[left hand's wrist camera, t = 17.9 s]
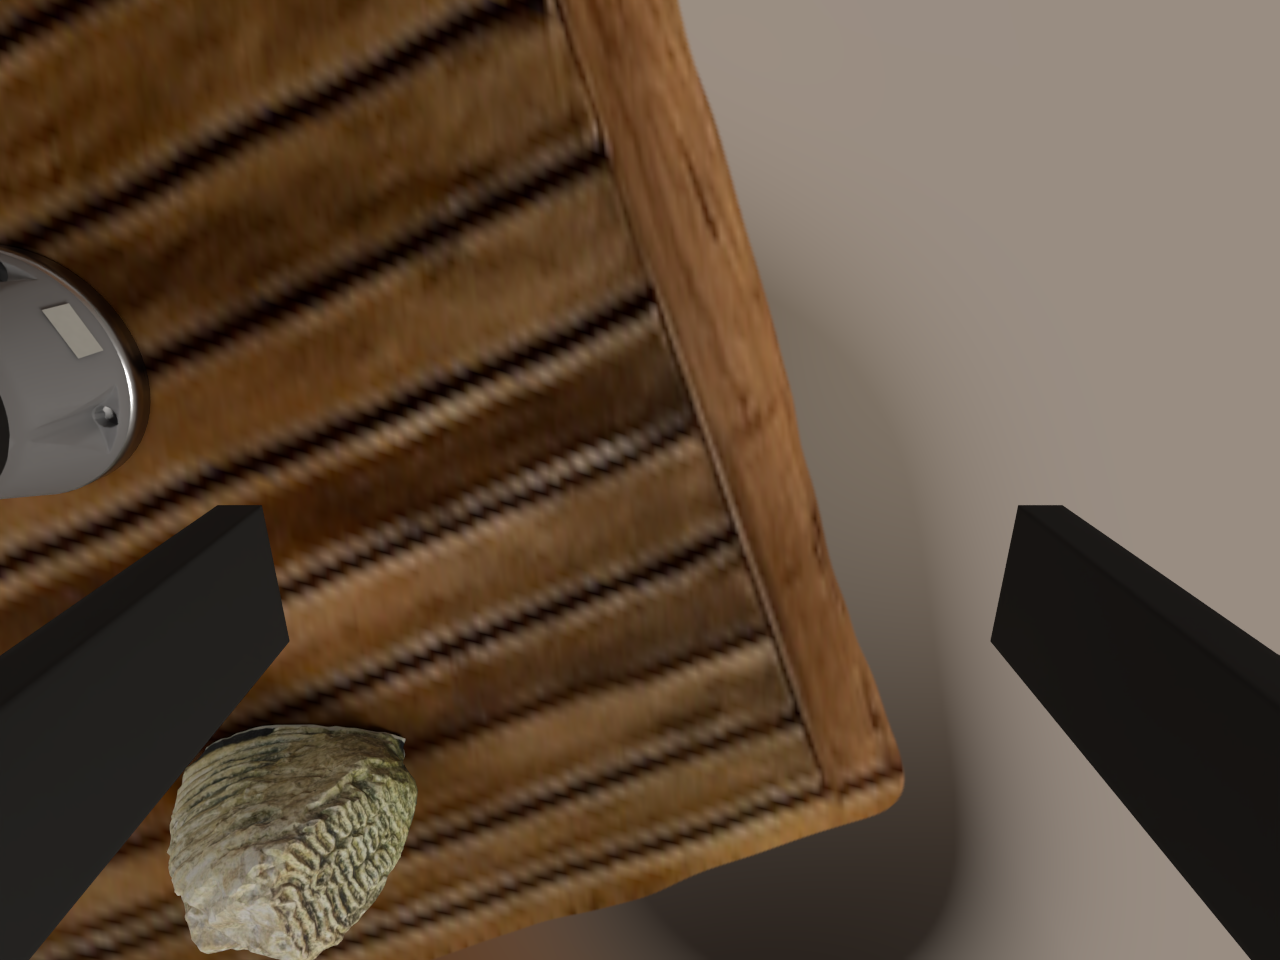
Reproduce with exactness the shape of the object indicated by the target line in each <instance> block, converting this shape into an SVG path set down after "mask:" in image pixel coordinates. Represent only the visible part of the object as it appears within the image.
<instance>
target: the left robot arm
mask: <svg viewBox="0 0 1280 960" xmlns="http://www.w3.org/2000/svg"><path fill="white" fill-rule="evenodd" d="M149 412H150V388H149V381H148V376H147V372H146V368H145V364H144V362H143V359H142V356H141V353H140V351H139V349H138V346H137V344H136V342H135V340H134V338H133V337H132V335H131V333H130V331H129V330H128V328H127V327H126V325H125V324H124V322H123V321H122V319H121V318H120V317H119V315H118V314H117V313H116V311H115V310H114V309H113V308H112V307H111V305H110V304H109V303H108V302H107V301H106V300H105V299H104V298H103V297H102V296H101V295H100V294H99V293H98V292H97V291H96V290H95V289H94V288H93V287H91V286H90V285H89V284H88V283H86V282H85V281H84V280H83V279H81V278H80V277H79V276H77V275H76V274H74V273H73V272H71V271H70V270H68V269H66V268H65V267H63V266H61V265H60V264H58V263H56V262H54V261H52V260H50V259H48V258H46V257H43V256H41V255H38V254H36V253H33V252H30V251H27V250H23V249H20V248H15V247H10V246H5V245H0V499H6V498H17V497H28V496H39V495H51V494H59V493H64V492H68V491H72V490H75V489H78V488H80V487H83V486H85V485H87V484H89V483H91V482H93V481H95V480H97V479H99V478H101V477H103V476H106V475H107V474H109V473H111V472H112V471H114V470H116V469H117V468H118V467H120V466H121V465H122V464H123V463H124V462H125V461H126V460H127V459H128V458H130V456H131V455H132V454H133V452H134V451H135V450H136V448H137V447H138V445H139V443H140V442H141V440H142V437H143V435H144V433H145V430H146V426H147V423H148V418H149ZM288 642H289V636H288V631H287V626H286V621H285V617H284V612H283V607H282V602H281V597H280V592H279V587H278V582H277V578H276V573H275V568H274V563H273V558H272V553H271V548H270V543H269V538H268V534H267V529H266V524H265V519H264V514H263V509H262V505H217V506H216V507H214V508H213V509H212V510H210V511H209V512H207V513H206V514H204V515H203V516H201V517H200V518H199V519H197V520H196V521H194V522H193V523H191V524H190V525H188V526H187V527H186V528H184V529H183V530H181V531H180V532H178V533H177V534H175V535H174V536H173V537H171V538H170V539H168V540H167V541H165V542H164V543H162V544H161V545H160V546H158V547H157V548H155V549H154V550H152V551H151V552H149V553H148V554H147V555H145V556H144V557H142V558H141V559H139V560H138V561H136V562H135V563H134V564H132V565H131V566H129V567H128V568H126V569H125V570H123V571H122V572H121V573H119V574H118V575H116V576H115V577H113V578H112V579H111V580H109V581H108V582H106V583H105V584H103V585H102V586H100V587H99V588H98V589H96V590H95V591H93V592H92V593H90V594H89V595H87V596H86V597H85V598H83V599H82V600H80V601H79V602H77V603H76V604H74V605H73V606H72V607H70V608H69V609H67V610H66V611H64V612H63V613H61V614H60V615H59V616H57V617H56V618H54V619H53V620H51V621H50V622H48V623H47V624H46V625H44V626H43V627H41V628H40V629H38V630H37V631H35V632H34V633H33V634H31V635H30V636H28V637H27V638H25V639H24V640H22V641H21V642H20V643H18V644H17V645H15V646H14V647H12V648H11V649H9V650H8V651H7V652H5V653H4V654H2V655H1V656H0V960H29V959H30V958H31V957H32V955H33V954H34V953H35V952H36V951H37V949H38V948H39V947H40V946H41V944H42V943H43V942H44V941H45V940H46V938H47V937H48V936H49V935H50V933H51V932H52V931H53V930H54V929H55V927H56V926H57V925H58V924H59V922H60V921H61V920H62V919H63V918H64V916H65V915H66V914H67V913H68V911H69V910H70V909H71V908H72V907H73V905H74V904H75V903H76V902H77V900H78V899H79V898H80V897H81V896H82V894H83V893H84V892H85V891H86V889H87V888H88V887H89V886H90V885H91V883H92V882H93V881H94V880H95V878H96V877H97V876H98V875H99V874H100V872H101V871H102V870H103V869H104V867H105V866H106V865H107V864H108V863H109V861H110V860H111V859H112V858H113V856H114V855H115V854H116V853H117V852H118V850H119V849H120V848H121V847H122V845H123V844H124V843H125V842H126V841H127V839H128V838H129V837H130V836H131V834H132V833H133V832H134V831H135V830H136V828H137V827H138V826H139V825H140V823H141V822H142V821H143V820H144V819H145V817H146V816H147V815H148V814H149V812H150V811H151V810H152V809H153V808H154V806H155V805H156V804H157V803H158V801H159V800H160V799H161V798H162V797H163V795H164V794H165V793H166V792H167V790H168V789H169V788H170V787H171V786H172V784H173V783H174V782H175V781H176V779H177V778H178V777H179V776H180V775H181V773H182V772H183V771H184V770H185V768H186V767H187V766H188V765H189V764H190V762H191V761H192V760H193V759H194V757H195V756H196V755H197V754H198V753H199V751H200V750H201V749H202V748H203V746H204V745H205V744H206V743H207V742H208V740H209V739H210V738H211V737H212V735H213V734H214V733H215V732H216V731H217V729H218V728H219V727H220V726H221V724H222V723H223V722H224V721H225V719H226V718H227V717H228V716H229V715H230V713H231V712H232V711H233V710H234V708H235V707H236V706H237V705H238V704H239V702H240V701H241V700H242V699H243V697H244V696H245V695H246V694H247V693H248V691H249V690H250V689H251V688H252V686H253V685H254V684H255V683H256V682H257V680H258V679H259V678H260V677H261V675H262V674H263V673H264V672H265V671H266V669H267V668H268V667H269V666H270V664H271V663H272V662H273V661H274V660H275V658H276V657H277V656H278V655H279V653H280V652H281V651H282V650H283V649H284V647H285V646H286V645H287V644H288ZM991 642H992V644H993V645H994V646H995V647H996V649H997V650H998V651H999V652H1000V653H1001V655H1002V656H1003V657H1004V658H1005V660H1006V661H1007V662H1008V663H1009V664H1010V666H1011V667H1012V668H1013V669H1014V671H1015V672H1016V673H1017V674H1018V675H1019V677H1020V678H1021V679H1022V680H1023V682H1024V683H1025V684H1026V685H1027V686H1028V688H1029V689H1030V690H1031V691H1032V693H1033V694H1034V695H1035V696H1036V697H1037V699H1038V700H1039V701H1040V702H1041V704H1042V705H1043V706H1044V707H1045V708H1046V710H1047V711H1048V712H1049V713H1050V715H1051V716H1052V717H1053V718H1054V720H1055V721H1056V722H1057V723H1058V724H1059V726H1060V727H1061V728H1062V729H1063V730H1064V732H1065V733H1066V734H1067V735H1068V737H1069V738H1070V739H1071V740H1072V742H1073V743H1074V744H1075V745H1076V746H1077V748H1078V749H1079V750H1080V751H1081V752H1082V754H1083V755H1084V756H1085V757H1086V759H1087V760H1088V761H1089V762H1090V763H1091V765H1092V766H1093V767H1094V768H1095V770H1096V771H1097V772H1098V773H1099V775H1100V776H1101V777H1102V778H1103V779H1104V781H1105V782H1106V783H1107V784H1108V786H1109V787H1110V788H1111V789H1112V790H1113V792H1114V793H1115V794H1116V795H1117V796H1118V798H1119V799H1120V800H1121V801H1122V803H1123V804H1124V805H1125V806H1126V807H1127V809H1128V810H1129V811H1130V812H1131V814H1132V815H1133V816H1134V817H1135V818H1136V820H1137V821H1138V822H1139V823H1140V825H1141V826H1142V827H1143V828H1144V830H1145V831H1146V832H1147V833H1148V834H1149V836H1150V837H1151V838H1152V839H1153V841H1154V842H1155V843H1156V844H1157V845H1158V847H1159V848H1160V849H1161V850H1162V851H1163V853H1164V854H1165V855H1166V856H1167V858H1168V859H1169V860H1170V861H1171V863H1172V864H1173V865H1174V866H1175V867H1176V869H1177V870H1178V871H1179V872H1180V873H1181V875H1182V876H1183V877H1184V878H1185V880H1186V881H1187V882H1188V883H1189V885H1190V886H1191V887H1192V888H1193V889H1194V891H1195V892H1196V893H1197V894H1198V896H1199V897H1200V898H1201V899H1202V900H1203V902H1204V903H1205V904H1206V905H1207V907H1208V908H1209V909H1210V910H1211V911H1212V913H1213V914H1214V915H1215V916H1216V918H1217V919H1218V920H1219V921H1220V922H1221V924H1222V925H1223V926H1224V927H1225V929H1226V930H1227V931H1228V932H1229V933H1230V935H1231V936H1232V937H1233V938H1234V940H1235V941H1236V942H1237V943H1238V944H1239V946H1240V947H1241V948H1242V949H1243V950H1244V952H1245V953H1246V954H1247V955H1248V957H1249V958H1250V959H1251V960H1280V655H1278V654H1276V653H1275V652H1273V651H1272V650H1271V649H1269V648H1268V647H1266V646H1265V645H1263V644H1262V643H1260V642H1259V641H1258V640H1256V639H1255V638H1253V637H1252V636H1250V635H1249V634H1247V633H1246V632H1245V631H1243V630H1242V629H1240V628H1239V627H1237V626H1236V625H1234V624H1233V623H1232V622H1230V621H1229V620H1227V619H1226V618H1224V617H1223V616H1221V615H1220V614H1219V613H1217V612H1216V611H1214V610H1213V609H1211V608H1210V607H1208V606H1207V605H1205V604H1204V603H1203V602H1201V601H1200V600H1198V599H1197V598H1195V597H1194V596H1193V595H1191V594H1190V593H1188V592H1187V591H1185V590H1184V589H1182V588H1181V587H1180V586H1178V585H1177V584H1175V583H1174V582H1172V581H1171V580H1169V579H1168V578H1167V577H1165V576H1164V575H1162V574H1161V573H1159V572H1158V571H1156V570H1155V569H1154V568H1152V567H1151V566H1149V565H1148V564H1146V563H1145V562H1144V561H1142V560H1141V559H1139V558H1138V557H1136V556H1135V555H1133V554H1132V553H1131V552H1129V551H1128V550H1126V549H1125V548H1123V547H1122V546H1120V545H1119V544H1118V543H1116V542H1115V541H1113V540H1112V539H1110V538H1109V537H1107V536H1106V535H1105V534H1103V533H1102V532H1100V531H1099V530H1097V529H1096V528H1094V527H1093V526H1092V525H1090V524H1089V523H1087V522H1086V521H1084V520H1083V519H1081V518H1080V517H1078V516H1077V515H1076V514H1074V513H1073V512H1071V511H1070V510H1068V509H1067V508H1066V507H1064V506H1063V505H1018V509H1017V514H1016V519H1015V524H1014V529H1013V534H1012V538H1011V543H1010V548H1009V553H1008V558H1007V563H1006V568H1005V573H1004V578H1003V582H1002V587H1001V592H1000V597H999V602H998V607H997V612H996V617H995V622H994V626H993V631H992V636H991Z"/></svg>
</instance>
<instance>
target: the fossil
mask: <svg viewBox="0 0 1280 960" xmlns="http://www.w3.org/2000/svg"><path fill="white" fill-rule="evenodd" d="M404 742H405V739H404V738H402V737H399V736H396V735H393V734H390V733H386V732H374V731H369V730H363V729H358V728H346V727H339V726H333V727H325V726H319V725H313V724H312V725H271V726H262V727H256V728H253V729H250V730H247V731H243V732H240V733H236V734H234V735H233V736H231V737H229V738H223V739H220V740H218V741H216V742H215V743H213V744H211V745H210V746H208V747H207V748H206V750H205V752H204V753H203V754H202V755H201V756H200V758H199V759H198V760H196V761H195V762H194V763H192V764H191V765H190V766H188V767H187V768H186V769H185V772H184V774H183V777H182V786H181V787H180V788H179V790H178V793H177V799H176V804H175V808H174V810H173V815H172V816H171V818H172V821H171V823H170V833H171V842H170V847H169V849H168V852H167V853H168V854H169V855H170V860H169V873H170V876H171V877H172V882H173V884H174V890H175V893H176V894H177V895H181V897H182V900H183V902H184V906H185V912H186V915H185V920H186V921H187V923H188V926H189V929H190V933H191V938H192V941H193V942H194V943H195V944H196V945H197V947H198V948H199V950H200V951H202V952H204V953H207V954H209V953H215V952H219V951H223V950H227V949H231V948H232V949H235V950H242V949H246V950H249V951H250V952H253V953H257V954H262V955H265V956H268V957H271V958H276V959H281V960H313V959H315V958H316V957H317V956H318V955H319V954H320V953H321V952H322V951H323V950H325V949H327V948H329V947H331V946H334V945H338V944H339V943H340V942H341V941H342V940H343V937H344V934H345V933H346V932H347V931H348V930H349V929H350V927H351V926H352V925H354V924H355V923H356V922H358V921H359V919H360V918H361V917H362V915H363V914H364V913H365V912H366V911H367V909H368V908H369V907H370V906H371V905H372V904H373V903H374V902H375V900H376V899H377V897H378V896H379V894H380V893H381V891H382V889H383V888H384V886H385V883H386V880H387V876H388V874H389V873H390V872H391V871H392V869H393V868H394V867H395V865H396V863H397V862H398V860H399V858H400V856H401V852H402V850H403V846H404V843H405V841H406V839H407V835H408V832H409V828H410V825H411V822H412V819H413V816H414V811H415V805H416V803H417V793H418V790H417V786H416V782H415V779H414V778H413V777H412V776H411V775H410V773H409V772H408V770H407V769H406V767H405V766H404V764H403V759H404V757H405V754H404V749H403V746H404Z"/></svg>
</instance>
